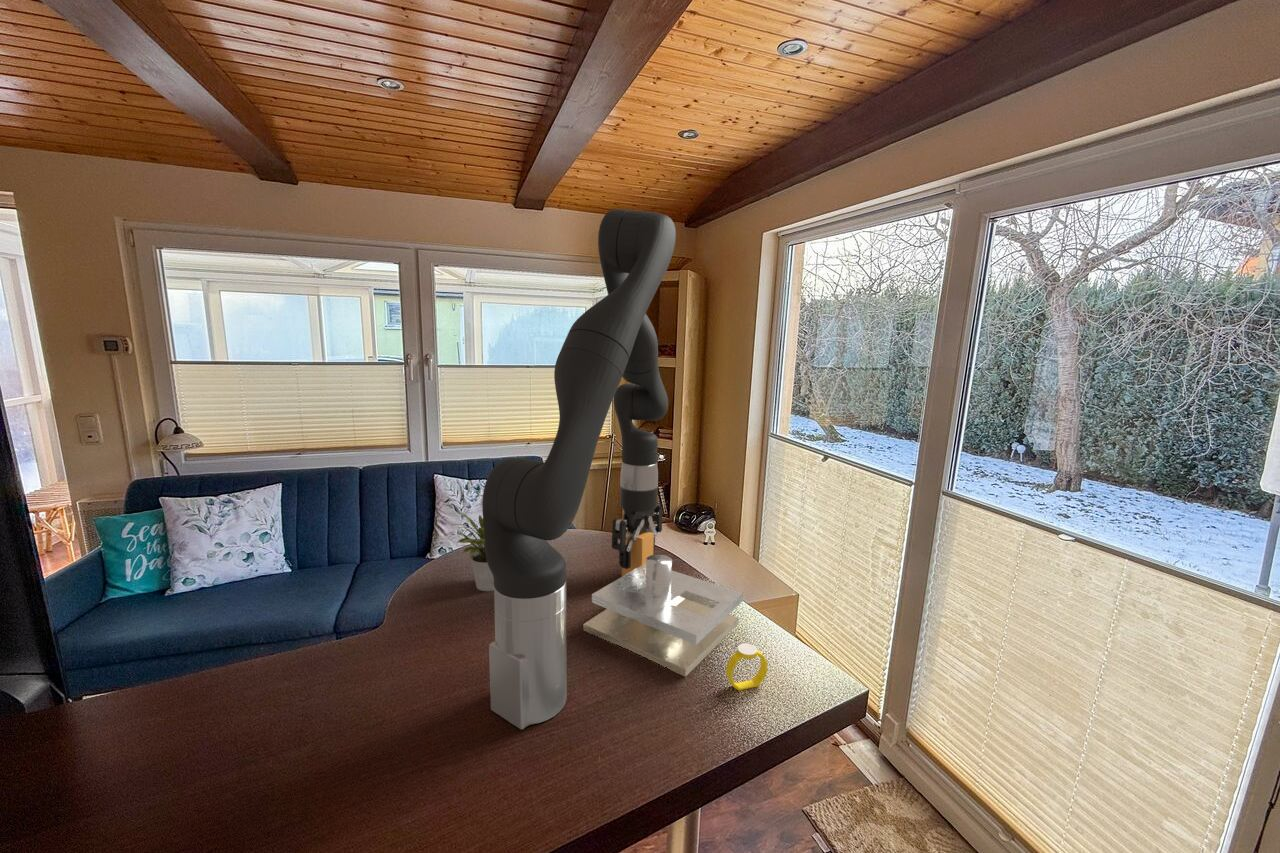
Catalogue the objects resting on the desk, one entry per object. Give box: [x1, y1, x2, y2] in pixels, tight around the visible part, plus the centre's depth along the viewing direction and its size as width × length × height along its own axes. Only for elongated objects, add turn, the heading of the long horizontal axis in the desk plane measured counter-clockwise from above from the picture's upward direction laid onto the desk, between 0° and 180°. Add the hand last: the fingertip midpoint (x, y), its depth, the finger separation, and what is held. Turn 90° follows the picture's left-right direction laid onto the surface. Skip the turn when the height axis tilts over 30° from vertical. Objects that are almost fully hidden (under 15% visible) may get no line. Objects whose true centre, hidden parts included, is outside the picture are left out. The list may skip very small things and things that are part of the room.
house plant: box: [452, 511, 494, 592], centre depth 101 cm, size 14×14×16 cm
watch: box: [725, 642, 768, 692], centre depth 73 cm, size 6×3×6 cm, turn 108°
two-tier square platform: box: [582, 554, 744, 678], centre depth 87 cm, size 18×21×12 cm
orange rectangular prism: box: [621, 530, 654, 577], centre depth 105 cm, size 4×5×10 cm
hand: (637, 560), depth 105 cm, fingers open, 8 cm apart
